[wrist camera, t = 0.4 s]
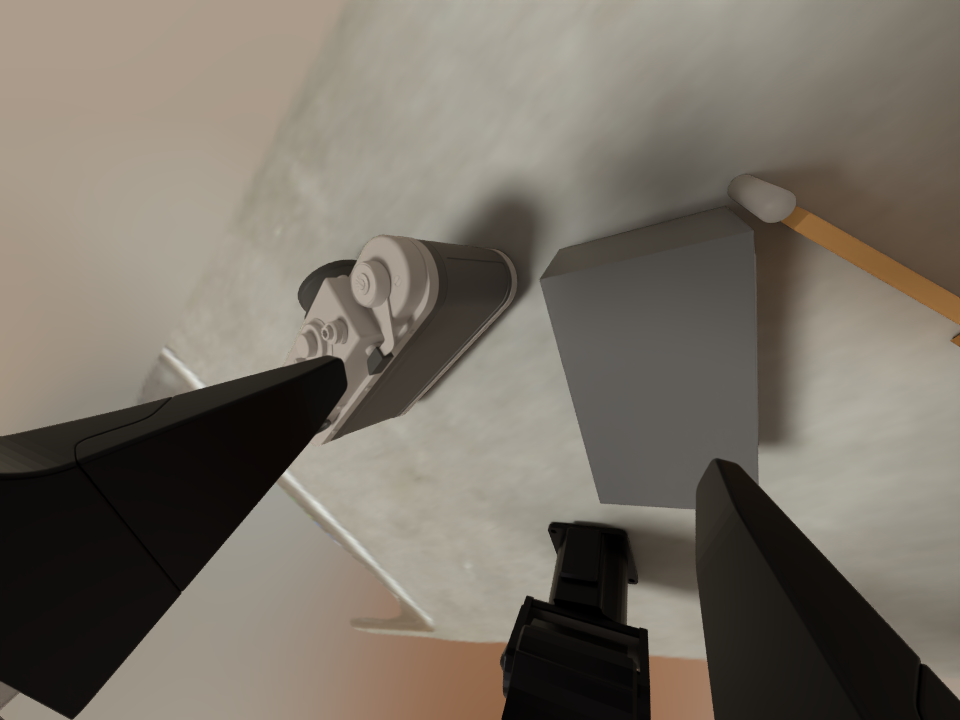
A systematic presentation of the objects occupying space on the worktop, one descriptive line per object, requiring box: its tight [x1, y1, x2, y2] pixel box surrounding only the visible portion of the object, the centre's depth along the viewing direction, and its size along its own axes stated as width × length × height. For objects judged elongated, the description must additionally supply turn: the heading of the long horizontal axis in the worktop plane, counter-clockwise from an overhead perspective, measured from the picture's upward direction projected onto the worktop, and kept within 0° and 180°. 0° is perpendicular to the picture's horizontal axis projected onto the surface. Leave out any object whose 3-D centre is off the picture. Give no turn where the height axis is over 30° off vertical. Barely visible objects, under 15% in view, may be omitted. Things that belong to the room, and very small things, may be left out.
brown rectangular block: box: [781, 206, 960, 347], centre depth 14 cm, size 11×1×5 cm, turn 65°
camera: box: [282, 235, 517, 446], centre depth 22 cm, size 9×16×10 cm, turn 143°
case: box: [540, 175, 796, 509], centre depth 18 cm, size 15×9×5 cm, turn 20°
